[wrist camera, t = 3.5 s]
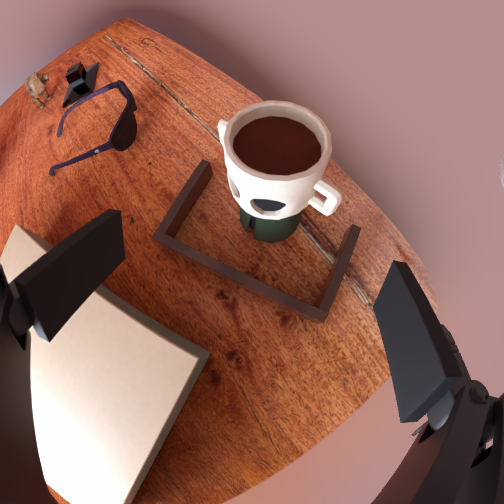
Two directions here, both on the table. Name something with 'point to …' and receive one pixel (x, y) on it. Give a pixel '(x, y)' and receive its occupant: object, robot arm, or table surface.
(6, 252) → the cream square platform
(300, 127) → the character mug
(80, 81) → the build plate
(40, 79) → the lion figurine
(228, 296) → the table surface
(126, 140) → the sunglasses
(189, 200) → the dark brown u-shaped bracket
